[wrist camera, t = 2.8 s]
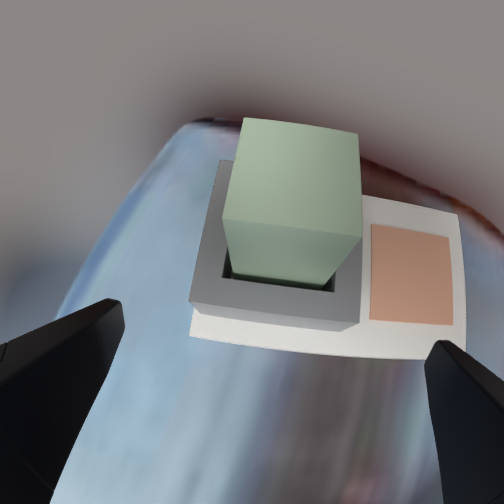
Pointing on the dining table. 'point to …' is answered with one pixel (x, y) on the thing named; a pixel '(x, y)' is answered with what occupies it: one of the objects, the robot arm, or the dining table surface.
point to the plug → (292, 203)
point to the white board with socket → (342, 289)
